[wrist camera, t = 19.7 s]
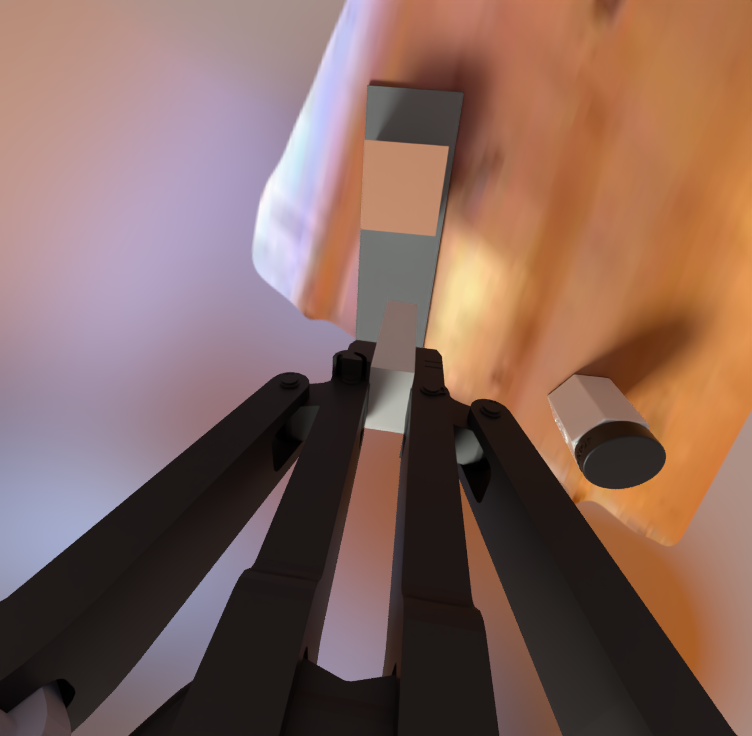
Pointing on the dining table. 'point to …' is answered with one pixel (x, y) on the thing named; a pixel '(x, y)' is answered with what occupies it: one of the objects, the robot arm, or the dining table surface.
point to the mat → (400, 250)
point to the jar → (605, 433)
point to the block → (402, 187)
